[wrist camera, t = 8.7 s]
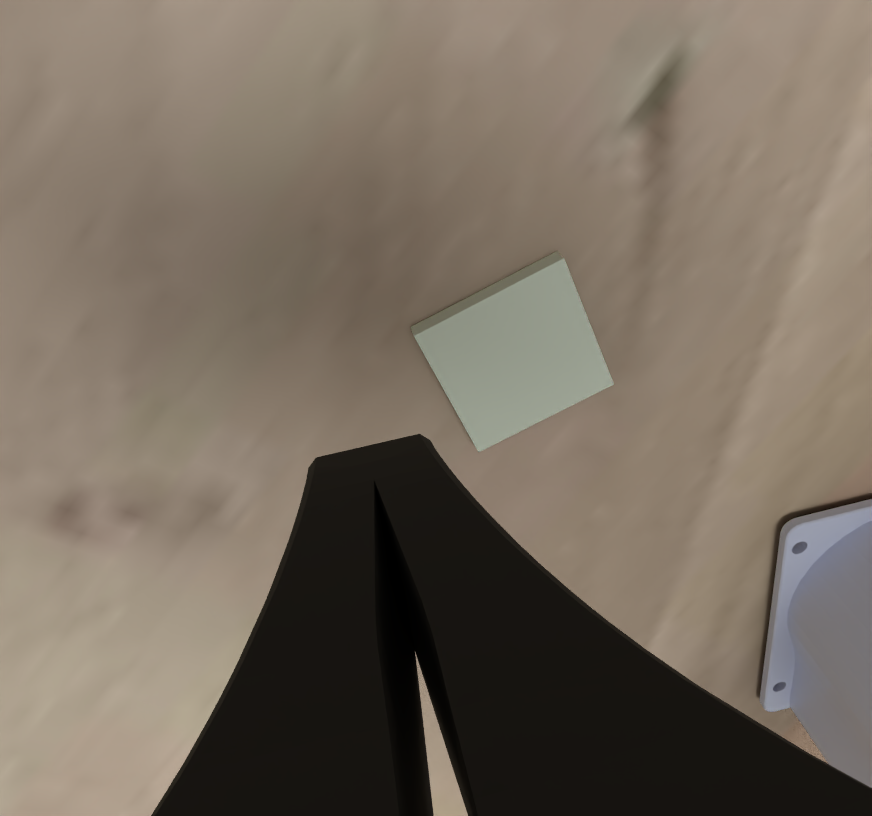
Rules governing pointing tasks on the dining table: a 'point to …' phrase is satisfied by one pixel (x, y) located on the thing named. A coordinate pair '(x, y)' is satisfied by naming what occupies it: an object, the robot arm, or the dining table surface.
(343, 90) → the dining table surface
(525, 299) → the ceramic tile
